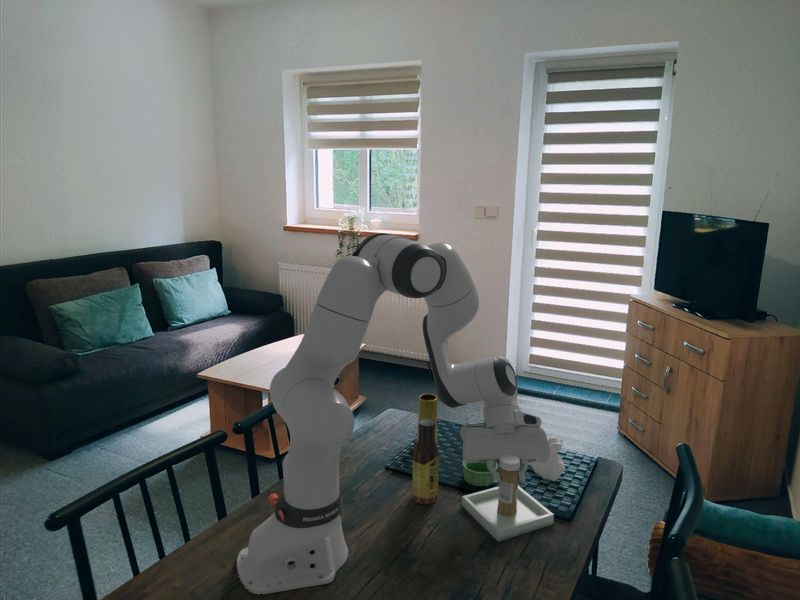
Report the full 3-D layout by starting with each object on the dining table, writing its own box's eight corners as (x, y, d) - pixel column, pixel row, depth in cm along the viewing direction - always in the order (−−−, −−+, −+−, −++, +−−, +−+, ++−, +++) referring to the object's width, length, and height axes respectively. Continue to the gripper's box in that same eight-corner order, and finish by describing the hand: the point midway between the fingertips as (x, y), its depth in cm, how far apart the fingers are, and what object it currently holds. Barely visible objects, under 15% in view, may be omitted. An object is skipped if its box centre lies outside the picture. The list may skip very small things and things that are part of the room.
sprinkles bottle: (520, 512, 138) (524, 459, 135) (507, 519, 136) (510, 465, 132) (505, 503, 142) (508, 451, 139) (492, 510, 139) (495, 457, 136)
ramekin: (460, 486, 150) (461, 471, 149) (463, 468, 159) (463, 453, 158) (496, 490, 149) (497, 474, 148) (497, 472, 157) (498, 457, 156)
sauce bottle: (433, 508, 141) (435, 430, 136) (408, 502, 143) (409, 426, 138) (440, 493, 147) (443, 419, 142) (416, 488, 149) (418, 415, 144)
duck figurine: (562, 491, 152) (586, 454, 153) (545, 480, 149) (569, 442, 150) (532, 469, 163) (554, 435, 164) (515, 459, 159) (538, 423, 160)
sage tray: (498, 541, 129) (498, 531, 128) (461, 505, 142) (462, 496, 141) (553, 524, 135) (553, 514, 135) (513, 491, 148) (514, 482, 148)
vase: (427, 436, 177) (428, 391, 173) (442, 443, 172) (443, 397, 169) (412, 442, 173) (413, 396, 170) (426, 450, 169) (427, 403, 165)
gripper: (461, 418, 140) (465, 477, 133) (547, 417, 141) (556, 476, 134) (458, 427, 145) (462, 485, 138) (541, 426, 146) (549, 484, 139)
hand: (509, 481), depth 136 cm, fingers closed on sprinkles bottle, 4 cm apart
